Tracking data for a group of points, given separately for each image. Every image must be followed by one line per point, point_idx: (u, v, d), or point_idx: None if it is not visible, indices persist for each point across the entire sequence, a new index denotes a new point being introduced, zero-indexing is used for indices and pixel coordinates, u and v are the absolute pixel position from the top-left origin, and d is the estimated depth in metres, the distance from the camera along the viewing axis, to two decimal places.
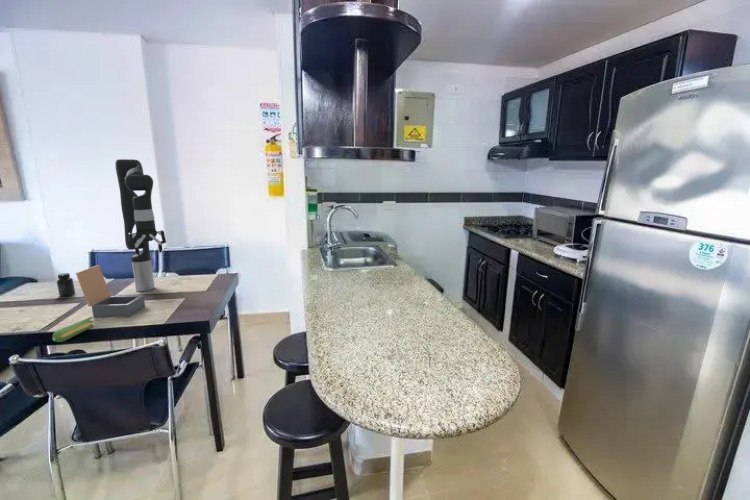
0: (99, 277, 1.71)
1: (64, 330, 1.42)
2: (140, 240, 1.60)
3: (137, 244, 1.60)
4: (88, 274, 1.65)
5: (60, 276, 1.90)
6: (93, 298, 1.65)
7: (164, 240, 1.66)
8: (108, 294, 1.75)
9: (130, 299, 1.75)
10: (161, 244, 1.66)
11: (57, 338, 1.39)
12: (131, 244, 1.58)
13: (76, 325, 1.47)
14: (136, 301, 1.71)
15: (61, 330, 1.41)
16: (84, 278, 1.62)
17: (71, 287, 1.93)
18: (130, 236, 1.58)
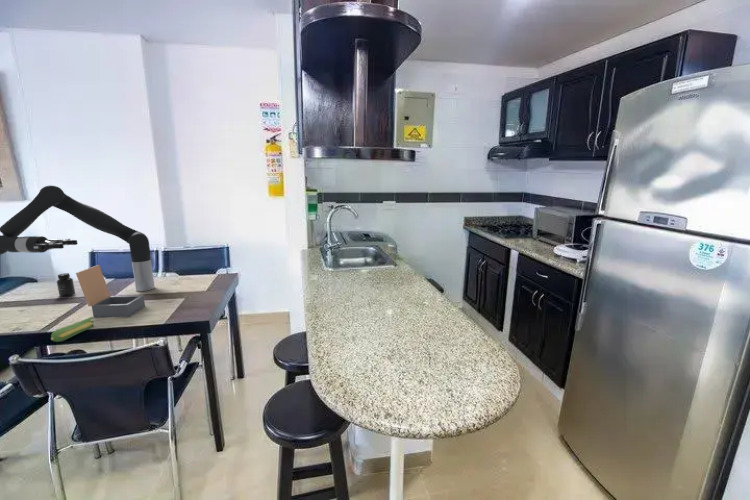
0: (99, 277, 1.71)
1: (63, 330, 1.42)
2: None
3: None
4: (88, 274, 1.65)
5: (60, 276, 1.90)
6: (93, 298, 1.65)
7: (45, 249, 1.56)
8: (108, 294, 1.75)
9: (130, 299, 1.75)
10: (52, 247, 1.57)
11: (55, 338, 1.39)
12: None
13: (76, 325, 1.47)
14: (136, 301, 1.71)
15: (60, 330, 1.41)
16: (84, 278, 1.62)
17: (71, 287, 1.93)
18: None
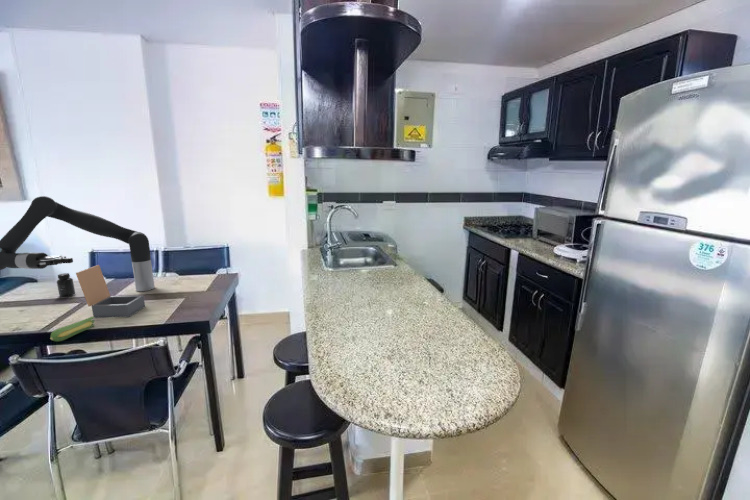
0: (99, 277, 1.71)
1: (62, 330, 1.42)
2: None
3: None
4: (88, 274, 1.65)
5: (60, 276, 1.90)
6: (93, 298, 1.65)
7: (54, 264, 1.61)
8: (108, 294, 1.75)
9: (130, 299, 1.75)
10: (61, 262, 1.63)
11: (55, 337, 1.39)
12: None
13: (76, 325, 1.47)
14: (136, 301, 1.71)
15: (59, 329, 1.42)
16: (84, 278, 1.62)
17: (71, 287, 1.93)
18: None
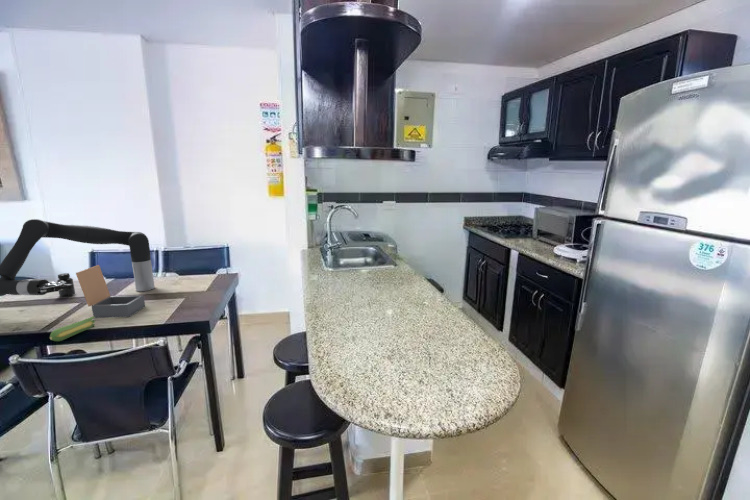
0: (99, 277, 1.71)
1: (62, 329, 1.42)
2: None
3: None
4: (88, 274, 1.65)
5: (60, 276, 1.90)
6: (93, 298, 1.65)
7: None
8: (108, 294, 1.75)
9: (130, 299, 1.75)
10: (61, 289, 1.65)
11: (54, 337, 1.39)
12: None
13: (76, 325, 1.48)
14: (136, 301, 1.71)
15: (59, 329, 1.42)
16: (84, 278, 1.62)
17: None
18: None
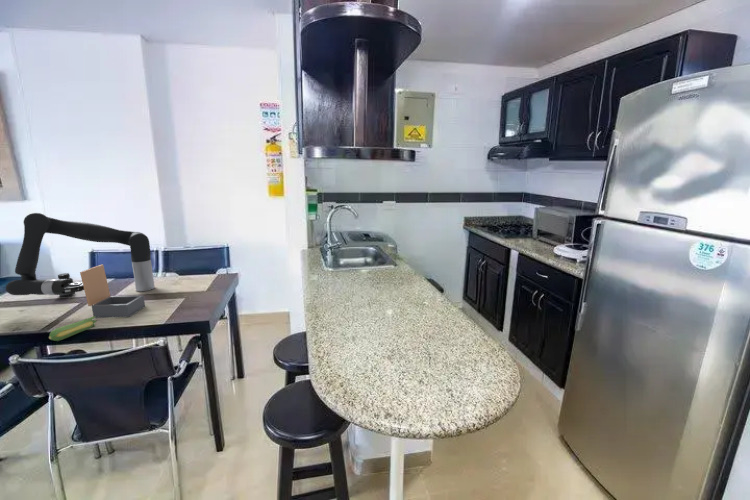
0: (102, 277, 1.71)
1: (61, 329, 1.42)
2: None
3: None
4: (92, 274, 1.65)
5: (60, 276, 1.90)
6: (94, 298, 1.65)
7: None
8: (108, 294, 1.75)
9: (130, 299, 1.75)
10: None
11: (53, 337, 1.40)
12: None
13: (75, 324, 1.48)
14: (136, 301, 1.71)
15: (58, 329, 1.42)
16: (87, 278, 1.62)
17: None
18: None
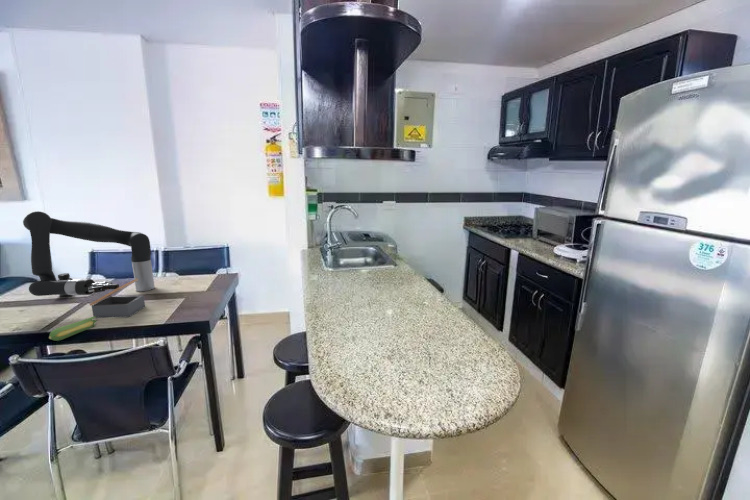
0: (124, 287, 1.73)
1: (61, 329, 1.43)
2: None
3: None
4: None
5: (60, 276, 1.90)
6: None
7: None
8: None
9: (130, 299, 1.75)
10: (108, 288, 1.67)
11: (53, 337, 1.40)
12: None
13: (76, 324, 1.48)
14: (136, 301, 1.71)
15: (58, 329, 1.42)
16: (117, 290, 1.64)
17: None
18: None
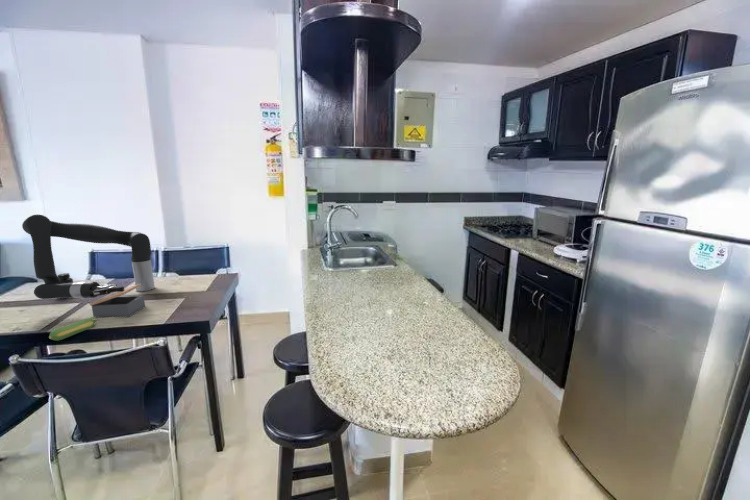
0: None
1: (61, 329, 1.43)
2: None
3: None
4: None
5: (60, 276, 1.90)
6: None
7: None
8: None
9: (130, 299, 1.75)
10: None
11: (53, 337, 1.40)
12: None
13: (76, 324, 1.48)
14: (136, 301, 1.71)
15: (59, 329, 1.42)
16: None
17: None
18: None
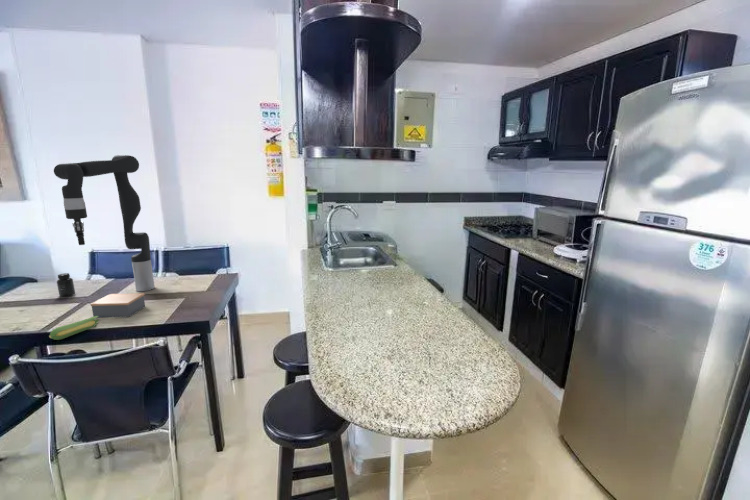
0: None
1: (62, 328, 1.43)
2: None
3: None
4: None
5: (60, 276, 1.90)
6: None
7: (76, 234, 1.62)
8: None
9: None
10: (78, 237, 1.64)
11: (53, 336, 1.40)
12: None
13: (77, 324, 1.48)
14: (136, 301, 1.71)
15: (59, 328, 1.43)
16: None
17: (71, 287, 1.93)
18: None
